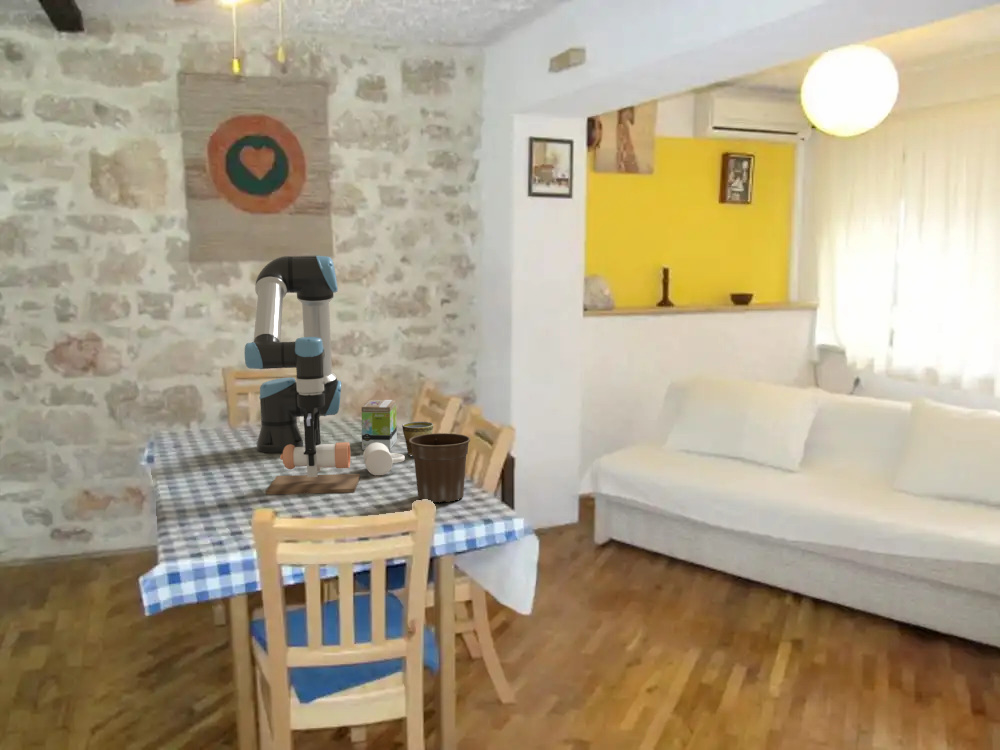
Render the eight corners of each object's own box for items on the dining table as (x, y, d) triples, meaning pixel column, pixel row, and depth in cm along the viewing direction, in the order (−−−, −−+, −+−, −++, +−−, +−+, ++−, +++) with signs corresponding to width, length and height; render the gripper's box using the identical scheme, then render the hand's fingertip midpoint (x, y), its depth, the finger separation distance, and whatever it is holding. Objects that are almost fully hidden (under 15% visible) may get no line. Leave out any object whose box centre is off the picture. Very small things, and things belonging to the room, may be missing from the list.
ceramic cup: (433, 458, 281) (433, 427, 280) (402, 458, 281) (401, 428, 279) (434, 448, 294) (433, 419, 293) (403, 449, 293) (403, 420, 292)
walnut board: (266, 494, 242) (265, 490, 241) (277, 479, 257) (276, 475, 257) (354, 492, 243) (354, 488, 243) (360, 477, 259) (359, 473, 259)
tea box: (391, 450, 293) (390, 406, 290) (361, 450, 293) (359, 406, 291) (397, 440, 307) (396, 398, 305) (368, 440, 308) (367, 398, 306)
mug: (366, 476, 259) (365, 450, 258) (363, 468, 269) (362, 443, 268) (406, 474, 262) (406, 447, 261) (403, 466, 272) (402, 440, 271)
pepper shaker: (348, 472, 247) (279, 474, 246) (351, 462, 254) (283, 463, 253) (347, 448, 245) (277, 449, 244) (349, 438, 252) (281, 440, 251)
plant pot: (428, 486, 248) (426, 430, 245) (480, 492, 242) (480, 434, 239) (399, 502, 233) (398, 442, 231) (455, 509, 227) (454, 447, 224)
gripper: (319, 398, 237) (323, 482, 241) (328, 387, 256) (331, 465, 259) (291, 398, 237) (295, 482, 240) (302, 387, 255) (305, 466, 258)
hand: (314, 473), depth 250 cm, fingers closed on pepper shaker, 5 cm apart
